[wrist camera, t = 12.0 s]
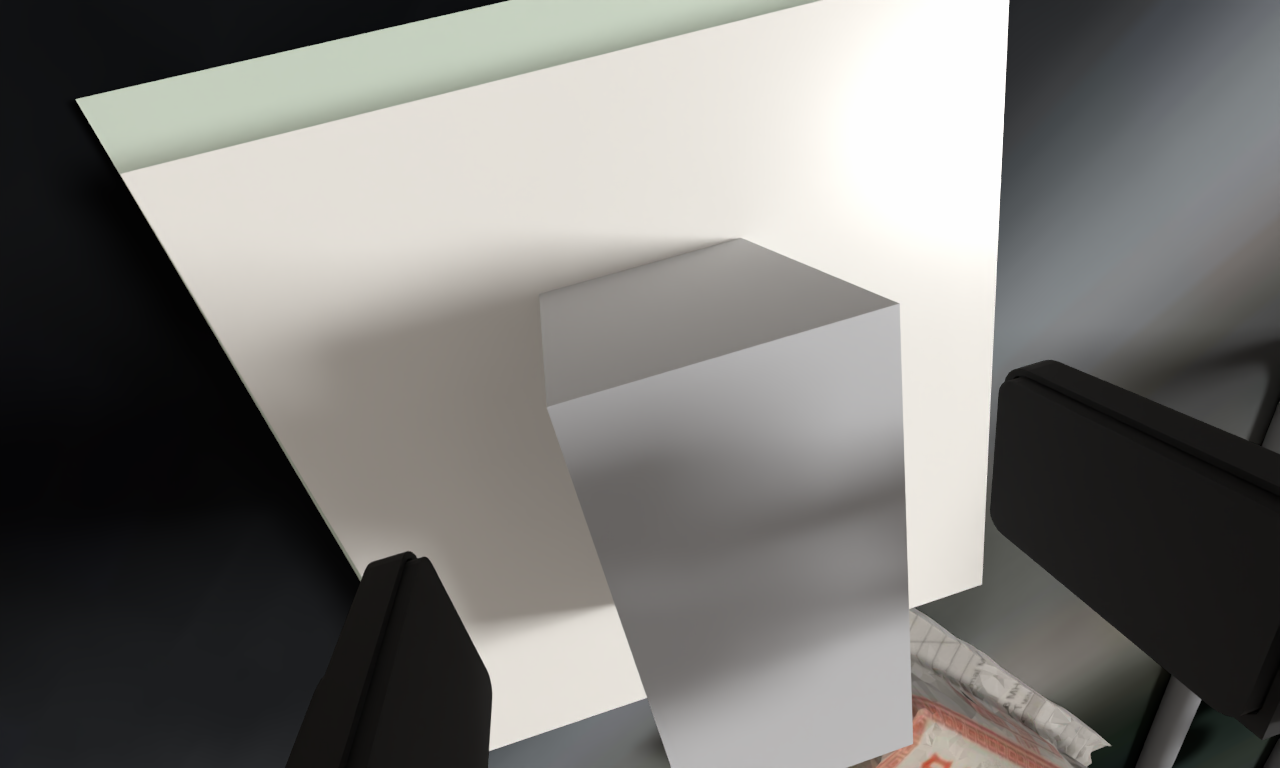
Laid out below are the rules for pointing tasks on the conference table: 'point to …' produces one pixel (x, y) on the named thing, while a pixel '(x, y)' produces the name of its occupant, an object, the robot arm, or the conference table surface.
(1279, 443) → the newton's cradle
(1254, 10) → the conference table surface
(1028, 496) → the robot arm
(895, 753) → the packaged product
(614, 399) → the lid
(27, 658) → the conference table surface
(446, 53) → the mat
